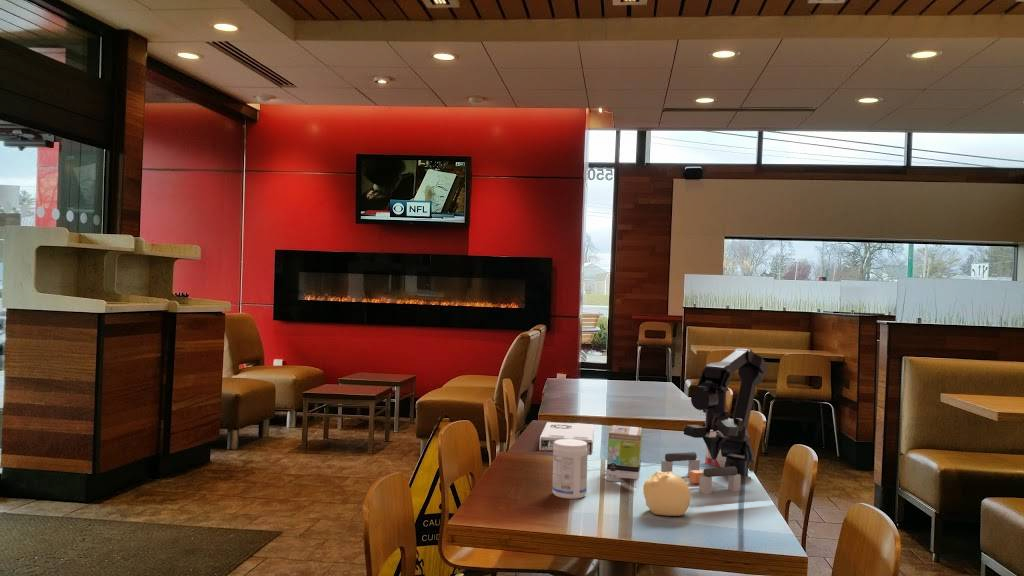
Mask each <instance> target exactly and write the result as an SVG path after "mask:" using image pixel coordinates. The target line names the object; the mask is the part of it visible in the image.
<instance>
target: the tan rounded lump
mask: <svg viewBox="0 0 1024 576" xmlns="http://www.w3.org/2000/svg"><path fill="white" fill-rule="evenodd" d="M642 487H643V488H642V489H643V490H642V491H643V492H642V493H643V496H644V500H645V505H646V507H647V508H648V509H649V511H650V512H651V513H653V514H654V515H659V516H675V517H676V516H682V515H684V514H685V513H686V512H687V510H688V509H689V507H690V503H691V490H689V487H688V485H687V483H686V482H685V481H684V480H683V479H682V478H681V476H679V475H677V474H675V473H674V472H673V470H672V471H671V472H662V471H661V470H660V471H655V473H654V474H652V475H651V476H650V477H648V479H646V481H644V483H643V486H642Z"/></svg>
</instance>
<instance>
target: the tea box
mask: <svg viewBox="0 0 1024 576" xmlns="http://www.w3.org/2000/svg"><path fill="white" fill-rule="evenodd" d="M642 441H643V427H638V426H630V425H629V426H628V425H618V424H617V425H615V424H614V425H613V424H612V425H611V427H610V429H609V433H608V442H607V461H606V477H605V478H606V481H609V482H615V481H619V482H618V483H625V482H627V481H626V480H624V479H633V480H634V479H635V480H639V478H640V473H641V463H642V447H643V445H642V444H643V442H642Z"/></svg>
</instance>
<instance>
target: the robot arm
mask: <svg viewBox="0 0 1024 576" xmlns="http://www.w3.org/2000/svg"><path fill="white" fill-rule="evenodd" d="M737 370H738V371H737ZM736 371H737V374H738V377H739V379H740V385H739V390H738V393H737V399H736V401H735V407H734V411H733V416H732V418H730V412H729V411H728V410H726V407H727V392H728V391H729V388H728V385H729V383H730V382H731V380H732V379H733V374H734V373H735V372H736ZM767 371H768V364H767V362H766V361H765V359H764V358H763V357H762V356H760V355H758V354H756V353H754V352H753V350H752V349H749V348H741V347H740V348H735V349H734V351H733V352H731V354H729V355H727V356H726V357H725V358H723V359H721V361H717V362H710V363H708V364H706V365H705V366H704V368H703V370H702V372H701V374H700V377H699V379H698V380H699V381H698V384H697V390H695V391H694V392H693V393H692V395H691V397H690V402H691V405H692V406H693V408H694V409H696V410H698V411H702V413H703V414H705V420H704V421H705V422H702V426H701V425H698V424H685V426H684V428H683V435H685V436H688V437H692V438H694V439H695V438H697V439H698V438H699V439H700V438H702V440H703V442H704V444H705V446H706V445H707V448H708V450H709V453H710V455H711V458H712V459H716V458H717V456H718V453H719V451H720V449H721V455H722V457H726V462H725V467H733V466H735V467H736V468H737V471H738V472H737V474H739V475H741V477H742V476H743V477H744V478H747V479H750V480H751V479H752V476H751V477H750V476H749V462H751V461H753V460H754V457H755V456H754V455H755V451H754V450H753V447H752V445H751V437H750V435H749V432H748V425H749V422H750V421H749V420H750V416H751V412H752V409H753V403H754V399H755V394H756V389H757V387H758V385H759V384H760V383H762V382H763V380H764V379H765V375H766V373H767ZM710 430H713V431H710Z"/></svg>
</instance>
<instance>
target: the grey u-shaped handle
mask: <svg viewBox="0 0 1024 576" xmlns="http://www.w3.org/2000/svg"><path fill="white" fill-rule="evenodd" d="M697 457H698V456H697V453H696V451H692V452H674V453H665V455H664V459H662V460H661V463H660V464H661V466H660V467H661V468H660V471H662V472H671V471H672V472H673V463H674V462H681V461H682V462H684V461H686V462H687V461H688V468H687V469H688V471H687V473H688V474H689V472H690V471H693V470H699V471H700V467H701V466H700V465H701V463H700V462H701V460H700V459H699V458H697Z"/></svg>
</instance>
